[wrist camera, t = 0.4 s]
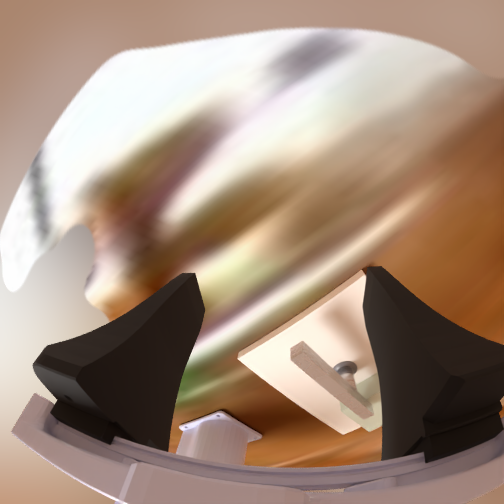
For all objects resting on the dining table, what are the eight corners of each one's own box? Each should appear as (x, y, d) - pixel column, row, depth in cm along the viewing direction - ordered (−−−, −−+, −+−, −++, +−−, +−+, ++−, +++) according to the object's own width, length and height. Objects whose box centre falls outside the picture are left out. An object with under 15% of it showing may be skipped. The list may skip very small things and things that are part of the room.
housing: (342, 429, 30) (343, 435, 29) (239, 351, 26) (237, 359, 25) (434, 378, 25) (437, 384, 24) (361, 269, 21) (364, 275, 20)
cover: (366, 416, 27) (369, 431, 25) (338, 393, 26) (341, 411, 23) (401, 397, 25) (406, 412, 23) (378, 371, 24) (383, 389, 22)
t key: (356, 392, 25) (362, 420, 21) (288, 329, 23) (288, 361, 19) (369, 385, 25) (376, 413, 21) (303, 319, 22) (305, 351, 19)
